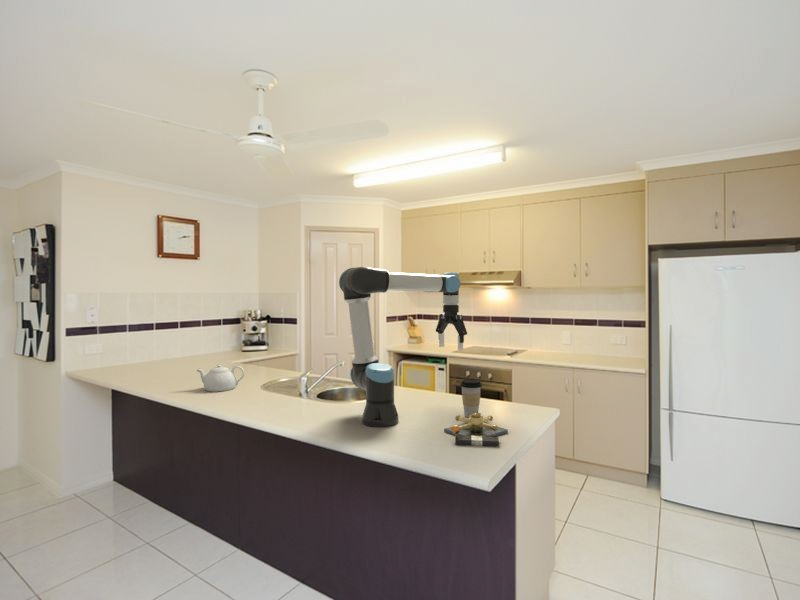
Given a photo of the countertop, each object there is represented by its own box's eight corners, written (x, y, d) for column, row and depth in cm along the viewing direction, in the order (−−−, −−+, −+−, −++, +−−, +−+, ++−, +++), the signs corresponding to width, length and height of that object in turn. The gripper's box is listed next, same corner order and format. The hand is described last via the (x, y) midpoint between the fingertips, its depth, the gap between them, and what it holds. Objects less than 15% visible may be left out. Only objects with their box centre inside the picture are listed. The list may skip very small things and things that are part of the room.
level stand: (477, 453, 148) (477, 447, 148) (430, 435, 167) (430, 429, 167) (524, 438, 163) (524, 432, 163) (476, 422, 182) (476, 418, 182)
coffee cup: (467, 419, 187) (467, 384, 186) (456, 414, 195) (455, 380, 195) (486, 417, 190) (486, 382, 190) (474, 411, 199) (474, 378, 199)
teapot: (216, 394, 237) (215, 368, 236) (196, 390, 247) (195, 365, 246) (245, 387, 252) (245, 363, 252) (225, 384, 262) (225, 361, 262)
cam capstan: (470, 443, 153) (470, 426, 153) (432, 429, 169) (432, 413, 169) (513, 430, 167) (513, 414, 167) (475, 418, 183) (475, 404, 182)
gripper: (474, 304, 208) (474, 350, 208) (440, 303, 228) (440, 345, 229) (463, 305, 203) (462, 351, 204) (428, 303, 224) (428, 346, 224)
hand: (450, 348), depth 216 cm, fingers open, 13 cm apart
